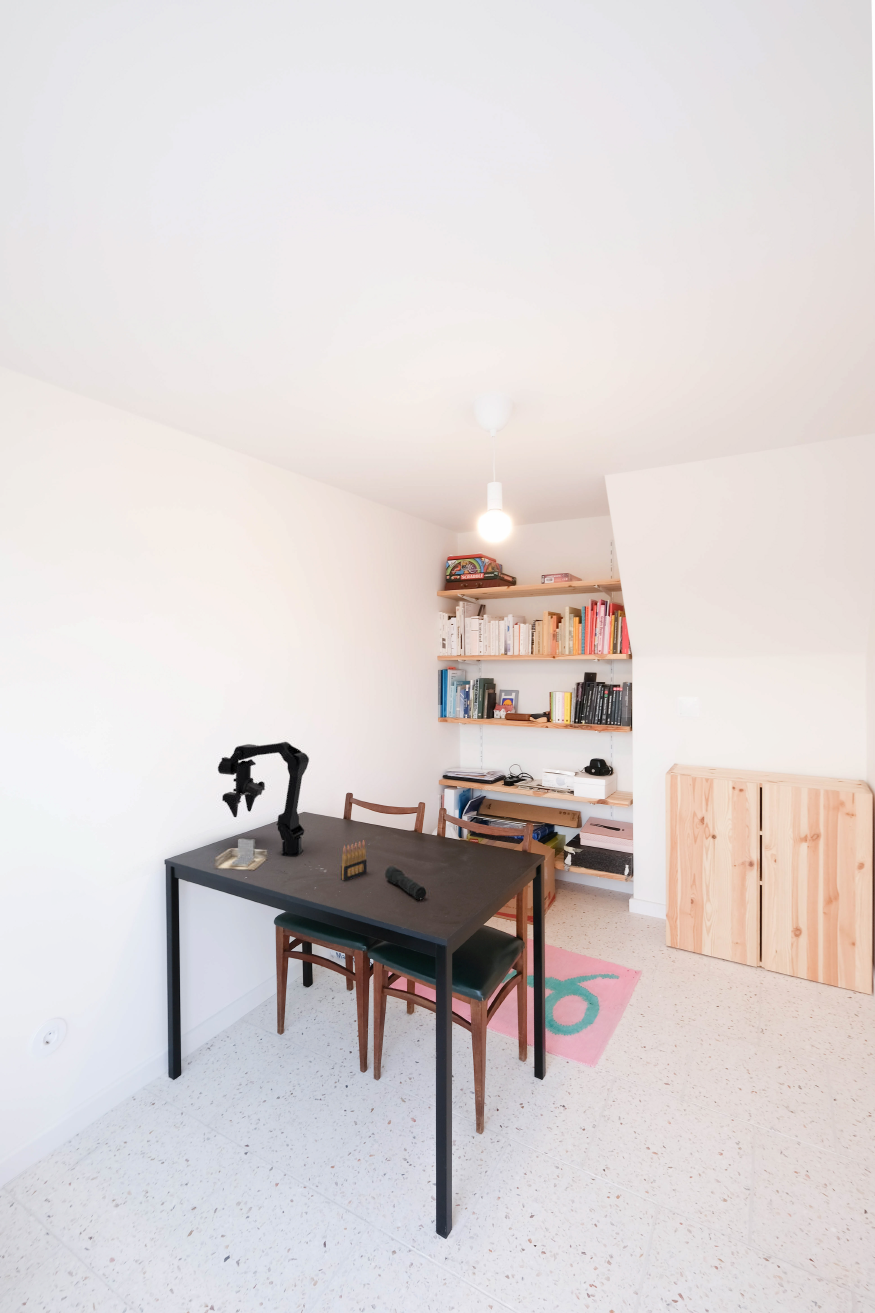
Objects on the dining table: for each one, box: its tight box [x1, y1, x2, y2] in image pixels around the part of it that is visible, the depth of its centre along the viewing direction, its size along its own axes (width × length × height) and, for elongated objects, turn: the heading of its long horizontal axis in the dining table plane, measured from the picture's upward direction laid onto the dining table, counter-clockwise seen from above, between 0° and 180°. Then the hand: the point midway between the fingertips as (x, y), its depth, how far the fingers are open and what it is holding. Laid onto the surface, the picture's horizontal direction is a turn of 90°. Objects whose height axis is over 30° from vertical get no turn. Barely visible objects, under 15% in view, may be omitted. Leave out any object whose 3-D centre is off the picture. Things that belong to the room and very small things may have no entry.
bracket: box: [232, 838, 256, 867], centre depth 218 cm, size 6×6×8 cm
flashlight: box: [384, 865, 427, 900], centre depth 197 cm, size 5×21×5 cm, turn 32°
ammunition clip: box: [340, 839, 368, 882], centre depth 208 cm, size 11×2×12 cm, turn 139°
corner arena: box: [214, 847, 268, 871], centre depth 219 cm, size 15×12×4 cm
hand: (242, 814), depth 238 cm, fingers open, 9 cm apart
